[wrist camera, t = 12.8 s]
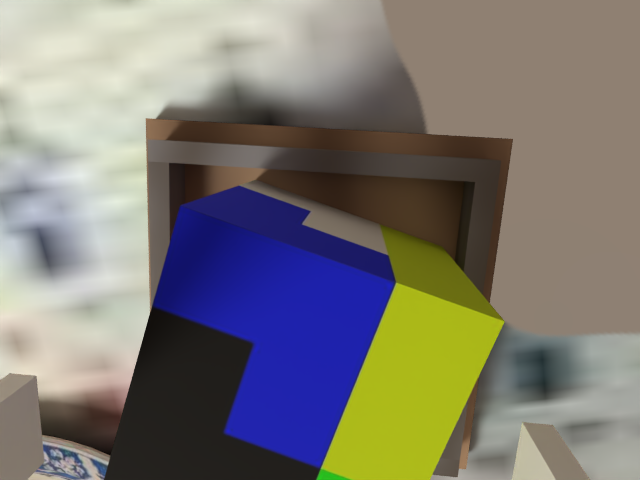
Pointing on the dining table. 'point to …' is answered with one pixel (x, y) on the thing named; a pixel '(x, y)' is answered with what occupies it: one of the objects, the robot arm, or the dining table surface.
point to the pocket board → (344, 193)
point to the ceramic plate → (70, 461)
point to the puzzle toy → (299, 347)
